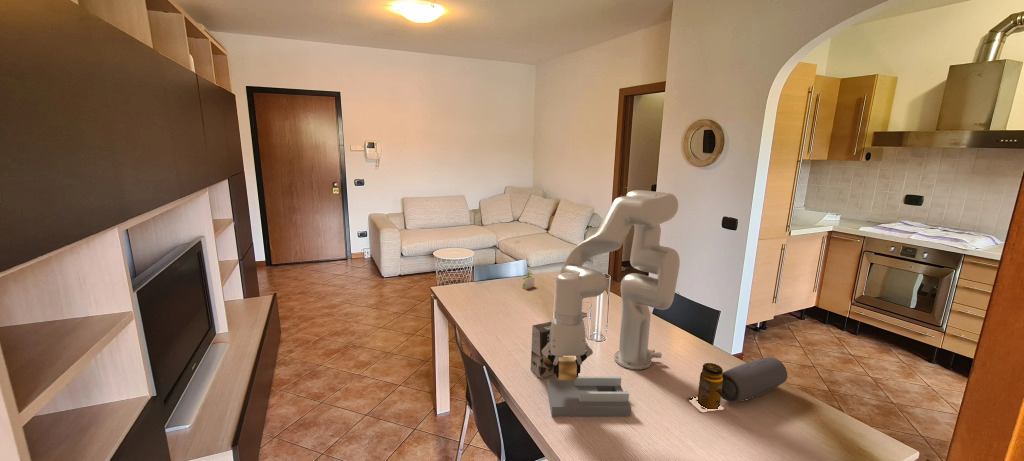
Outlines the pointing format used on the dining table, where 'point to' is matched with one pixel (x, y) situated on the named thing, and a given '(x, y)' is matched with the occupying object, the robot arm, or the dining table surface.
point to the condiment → (710, 386)
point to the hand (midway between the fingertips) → (566, 374)
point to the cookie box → (539, 341)
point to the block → (567, 368)
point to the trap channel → (588, 397)
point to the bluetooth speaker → (752, 379)
